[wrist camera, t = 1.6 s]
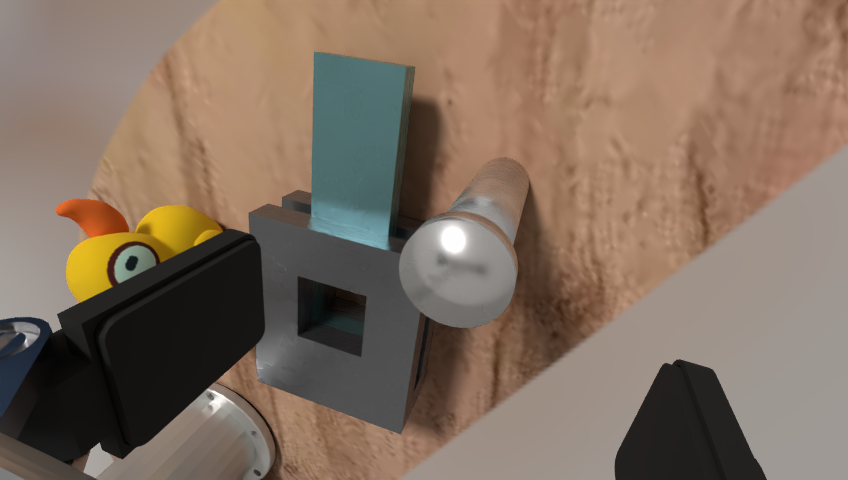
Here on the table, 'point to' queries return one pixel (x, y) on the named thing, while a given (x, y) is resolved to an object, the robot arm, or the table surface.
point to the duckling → (127, 242)
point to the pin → (469, 250)
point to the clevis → (346, 254)
